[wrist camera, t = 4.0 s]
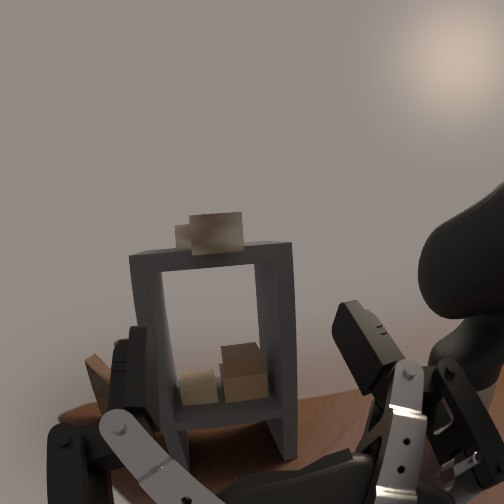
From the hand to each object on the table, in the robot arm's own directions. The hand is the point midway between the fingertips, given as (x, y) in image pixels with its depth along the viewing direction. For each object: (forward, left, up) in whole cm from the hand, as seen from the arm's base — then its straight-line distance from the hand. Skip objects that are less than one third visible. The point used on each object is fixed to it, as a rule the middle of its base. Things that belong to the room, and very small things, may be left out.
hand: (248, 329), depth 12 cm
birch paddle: (0, -21, +3) cm, 21 cm away
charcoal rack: (0, -26, -29) cm, 39 cm away
